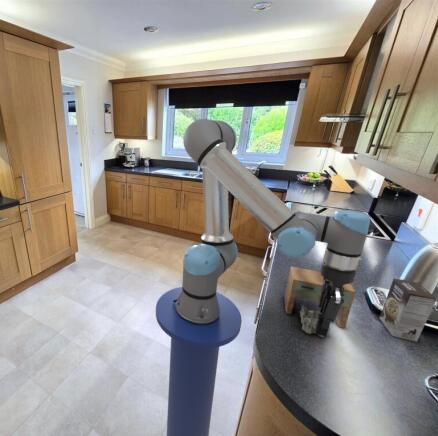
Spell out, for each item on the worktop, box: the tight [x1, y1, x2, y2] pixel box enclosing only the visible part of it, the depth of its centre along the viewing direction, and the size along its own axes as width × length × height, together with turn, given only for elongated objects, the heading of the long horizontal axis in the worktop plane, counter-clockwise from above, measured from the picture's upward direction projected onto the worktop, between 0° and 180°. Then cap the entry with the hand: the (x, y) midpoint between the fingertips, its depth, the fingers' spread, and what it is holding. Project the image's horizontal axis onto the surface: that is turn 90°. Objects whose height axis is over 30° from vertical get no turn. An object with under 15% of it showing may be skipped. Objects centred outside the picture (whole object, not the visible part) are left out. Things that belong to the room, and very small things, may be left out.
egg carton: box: [299, 303, 331, 338], centre depth 80 cm, size 11×8×4 cm
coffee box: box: [379, 278, 437, 343], centre depth 77 cm, size 9×6×16 cm
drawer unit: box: [283, 266, 356, 329], centre depth 85 cm, size 17×10×14 cm, turn 65°
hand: (320, 333), depth 75 cm, fingers closed
